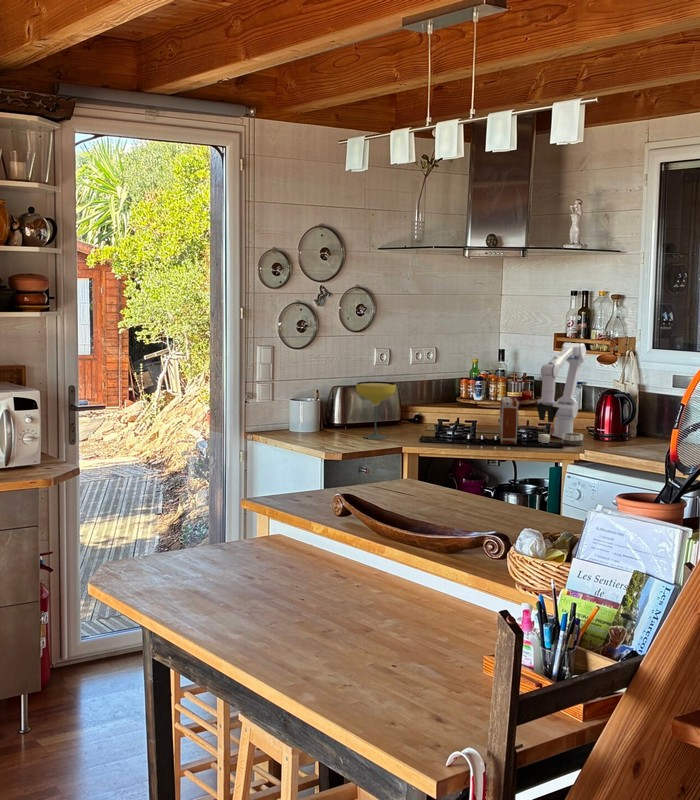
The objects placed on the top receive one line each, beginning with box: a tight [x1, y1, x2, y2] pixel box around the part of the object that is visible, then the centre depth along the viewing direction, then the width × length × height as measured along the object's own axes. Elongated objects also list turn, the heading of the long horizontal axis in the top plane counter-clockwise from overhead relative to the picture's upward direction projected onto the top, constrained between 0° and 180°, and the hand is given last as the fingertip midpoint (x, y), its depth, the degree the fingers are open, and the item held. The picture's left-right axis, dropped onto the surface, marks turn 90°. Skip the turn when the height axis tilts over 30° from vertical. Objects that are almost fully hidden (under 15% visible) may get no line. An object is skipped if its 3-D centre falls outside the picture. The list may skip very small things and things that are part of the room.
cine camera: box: [497, 396, 520, 446], centre depth 454 cm, size 9×19×20 cm, turn 174°
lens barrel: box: [561, 432, 584, 447], centre depth 449 cm, size 9×9×4 cm
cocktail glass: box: [355, 380, 397, 440], centre depth 460 cm, size 18×18×25 cm
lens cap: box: [538, 433, 551, 444], centre depth 453 cm, size 5×5×4 cm
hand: (546, 421), depth 451 cm, fingers open, 7 cm apart
